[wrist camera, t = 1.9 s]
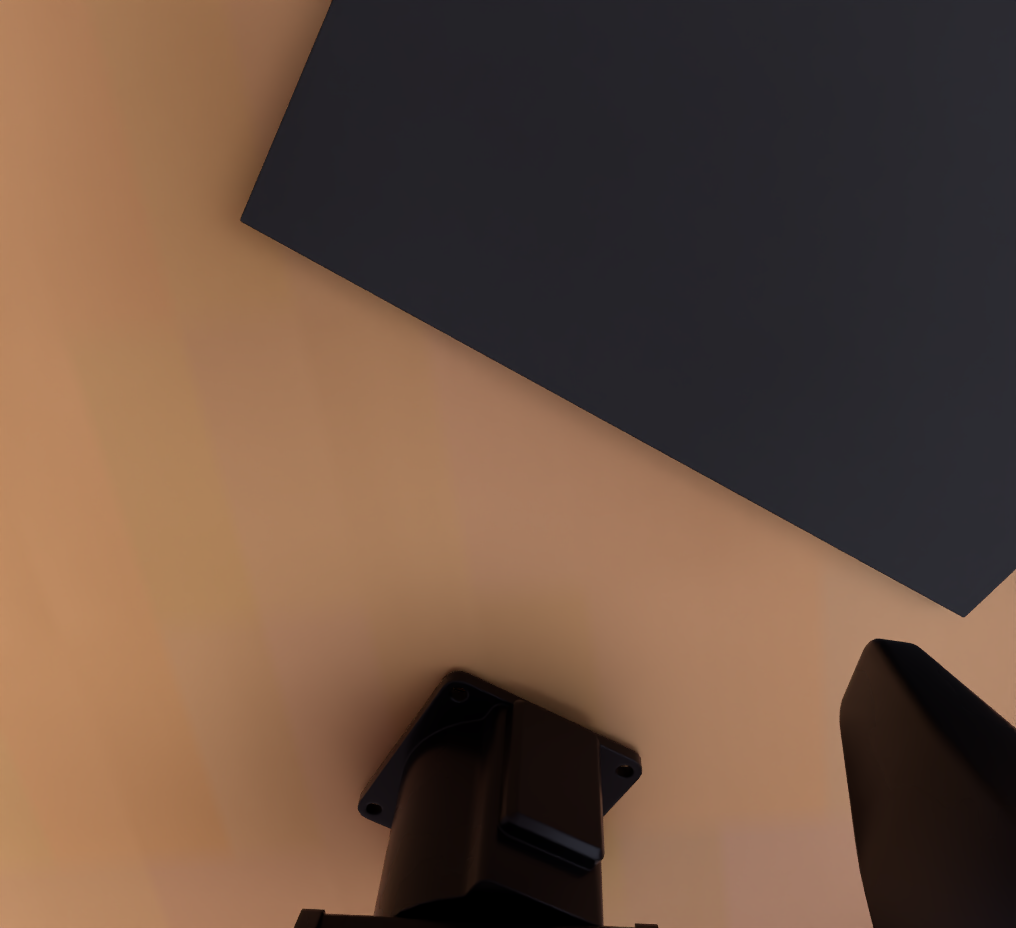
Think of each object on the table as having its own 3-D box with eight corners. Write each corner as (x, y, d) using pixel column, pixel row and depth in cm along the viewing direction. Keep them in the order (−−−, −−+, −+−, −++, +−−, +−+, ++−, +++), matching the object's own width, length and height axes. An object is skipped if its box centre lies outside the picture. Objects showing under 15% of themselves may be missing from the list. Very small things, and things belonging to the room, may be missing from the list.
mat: (955, 604, 24) (964, 618, 24) (247, 214, 20) (238, 221, 20) (1687, -98, 16) (1726, -101, 16) (750, -973, 12) (757, -1014, 12)
